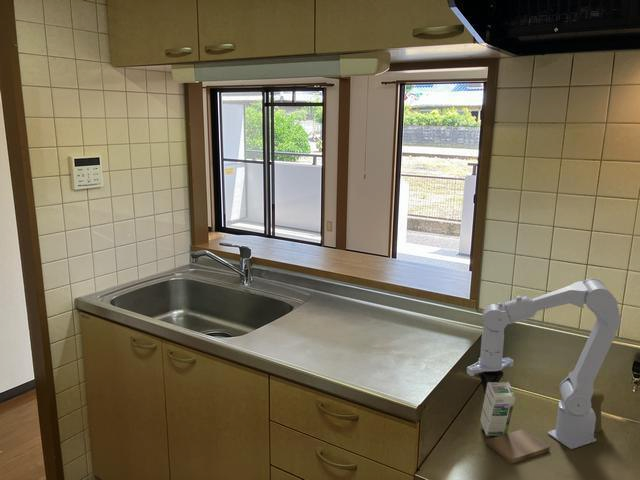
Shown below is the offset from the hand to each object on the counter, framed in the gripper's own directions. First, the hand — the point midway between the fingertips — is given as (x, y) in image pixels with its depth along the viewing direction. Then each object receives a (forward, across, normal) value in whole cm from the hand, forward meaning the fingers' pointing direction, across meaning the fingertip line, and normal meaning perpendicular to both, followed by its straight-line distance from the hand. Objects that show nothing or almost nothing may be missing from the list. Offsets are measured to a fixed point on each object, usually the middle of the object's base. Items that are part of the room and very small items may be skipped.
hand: (488, 394), depth 145 cm
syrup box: (+9, 0, +2) cm, 10 cm away
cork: (+10, -27, +12) cm, 31 cm away
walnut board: (+10, -1, +11) cm, 15 cm away
